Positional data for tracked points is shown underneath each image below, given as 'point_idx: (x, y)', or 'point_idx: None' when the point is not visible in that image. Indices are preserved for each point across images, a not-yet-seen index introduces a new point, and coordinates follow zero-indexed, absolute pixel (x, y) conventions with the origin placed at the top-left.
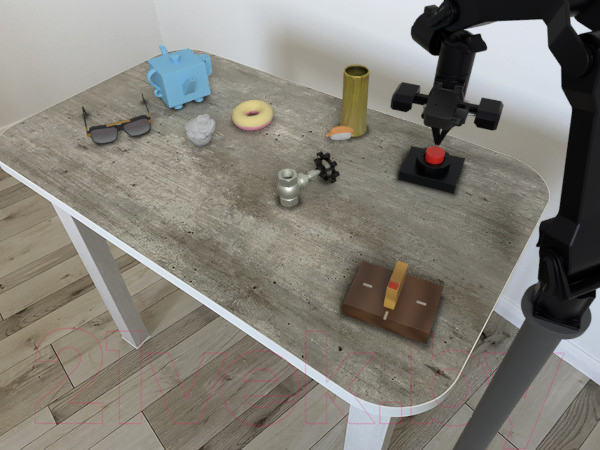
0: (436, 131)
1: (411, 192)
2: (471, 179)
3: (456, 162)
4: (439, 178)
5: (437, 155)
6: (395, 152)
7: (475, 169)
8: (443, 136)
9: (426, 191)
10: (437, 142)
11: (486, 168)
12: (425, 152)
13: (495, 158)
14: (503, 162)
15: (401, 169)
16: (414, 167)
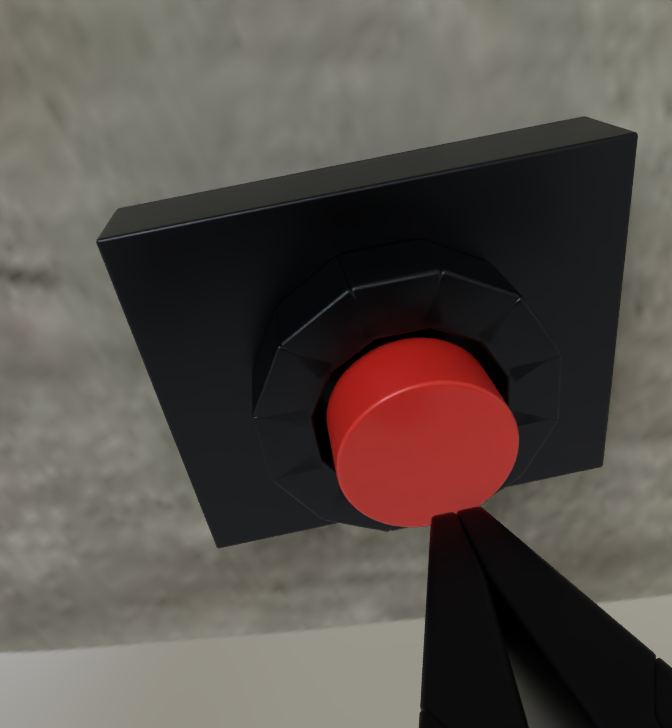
0: (601, 693)
1: (432, 14)
2: (107, 424)
3: (247, 485)
4: (271, 245)
5: (392, 424)
6: (660, 386)
7: (142, 513)
8: (447, 656)
9: (321, 110)
10: (469, 542)
11: (93, 552)
12: None
13: (103, 635)
14: (47, 632)
15: (625, 166)
16: (521, 260)
